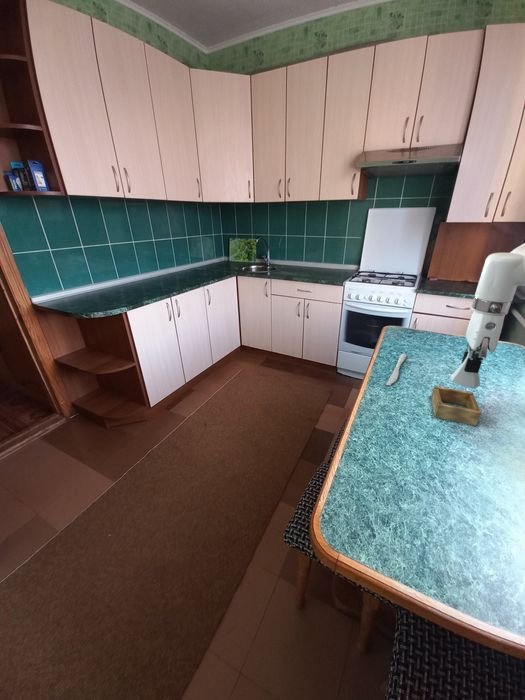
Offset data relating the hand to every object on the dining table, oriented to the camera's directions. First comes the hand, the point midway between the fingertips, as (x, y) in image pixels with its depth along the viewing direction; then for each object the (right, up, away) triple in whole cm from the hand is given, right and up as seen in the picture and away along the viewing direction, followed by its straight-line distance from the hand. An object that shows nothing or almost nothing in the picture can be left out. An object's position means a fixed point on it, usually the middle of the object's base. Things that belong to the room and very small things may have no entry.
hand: (469, 367), depth 81 cm
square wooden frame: (0, -13, +7) cm, 15 cm away
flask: (0, -4, +2) cm, 5 cm away
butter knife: (-7, -3, +29) cm, 30 cm away
